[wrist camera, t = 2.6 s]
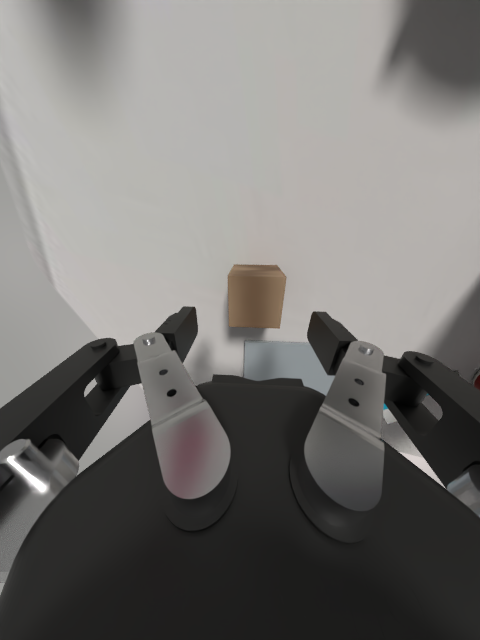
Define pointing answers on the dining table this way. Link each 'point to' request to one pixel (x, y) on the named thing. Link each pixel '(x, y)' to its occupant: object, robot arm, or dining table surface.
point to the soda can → (477, 380)
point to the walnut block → (255, 296)
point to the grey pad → (285, 363)
